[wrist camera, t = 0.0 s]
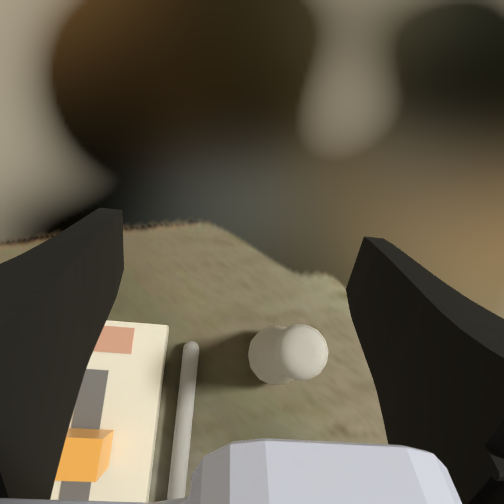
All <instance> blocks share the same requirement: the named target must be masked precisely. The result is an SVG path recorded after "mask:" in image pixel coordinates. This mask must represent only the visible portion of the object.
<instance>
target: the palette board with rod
mask: <svg viewBox="0 0 504 504" xmlns="http://www.w3.org/2000/svg"><path fill="white" fill-rule="evenodd" d="M198 357H199V346H198V344H197V343H196V342H193V341H190V342H187V343H186V344H185V345H184V348H183V356H182V365H181V374H180V384H179V393H178V402H177V411H176V420H175V430H174V439H173V448H172V457H171V466H170V475H169V485H168V494H167V500H172V499H179V498H185V489H186V479H187V469H188V459H189V449H190V438H191V428H192V418H193V408H194V398H195V388H196V377H197V367H198Z"/></svg>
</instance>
